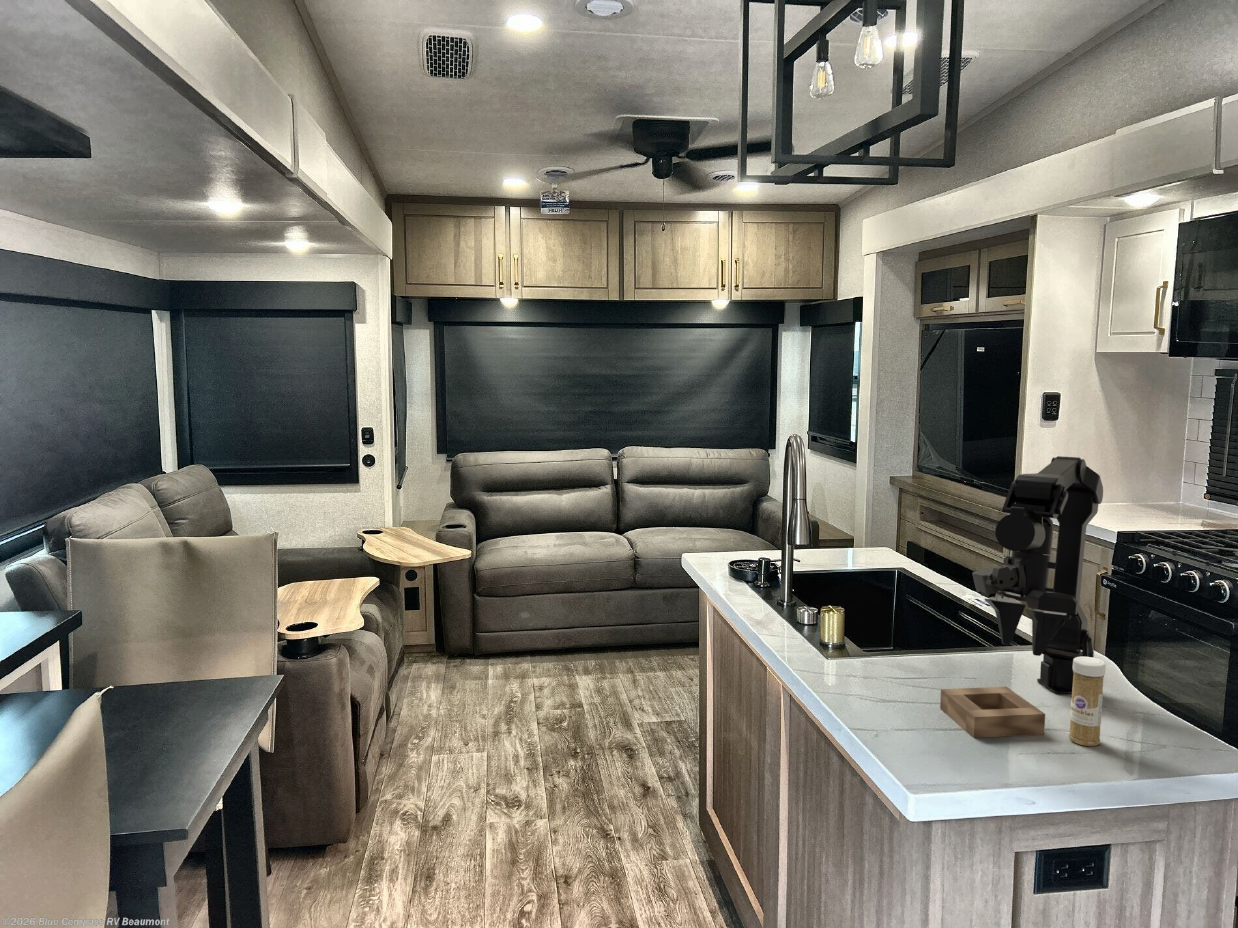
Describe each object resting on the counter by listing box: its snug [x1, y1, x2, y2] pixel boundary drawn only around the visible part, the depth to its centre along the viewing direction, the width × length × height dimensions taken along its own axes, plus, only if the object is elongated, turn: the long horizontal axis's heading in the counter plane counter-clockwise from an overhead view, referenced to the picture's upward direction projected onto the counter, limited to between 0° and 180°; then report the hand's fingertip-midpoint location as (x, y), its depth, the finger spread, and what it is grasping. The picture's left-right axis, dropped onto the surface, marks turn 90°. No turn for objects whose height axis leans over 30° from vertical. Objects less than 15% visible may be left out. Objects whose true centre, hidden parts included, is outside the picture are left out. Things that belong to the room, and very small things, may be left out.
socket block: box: [939, 686, 1046, 738], centre depth 146 cm, size 12×12×4 cm
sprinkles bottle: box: [1068, 657, 1106, 747], centre depth 138 cm, size 5×5×14 cm
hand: (1020, 649), depth 138 cm, fingers open, 9 cm apart
